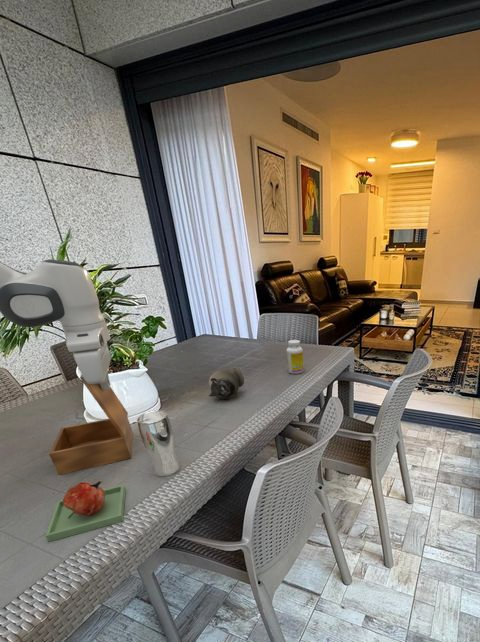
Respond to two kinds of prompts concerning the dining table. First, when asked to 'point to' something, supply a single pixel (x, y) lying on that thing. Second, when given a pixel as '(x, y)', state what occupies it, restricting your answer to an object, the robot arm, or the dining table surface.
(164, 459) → the beer glass
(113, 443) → the warming box
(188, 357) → the dining table surface
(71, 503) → the pomegranate
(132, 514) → the dining table surface
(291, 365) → the supplement bottle
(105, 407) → the box lid
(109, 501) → the tray
